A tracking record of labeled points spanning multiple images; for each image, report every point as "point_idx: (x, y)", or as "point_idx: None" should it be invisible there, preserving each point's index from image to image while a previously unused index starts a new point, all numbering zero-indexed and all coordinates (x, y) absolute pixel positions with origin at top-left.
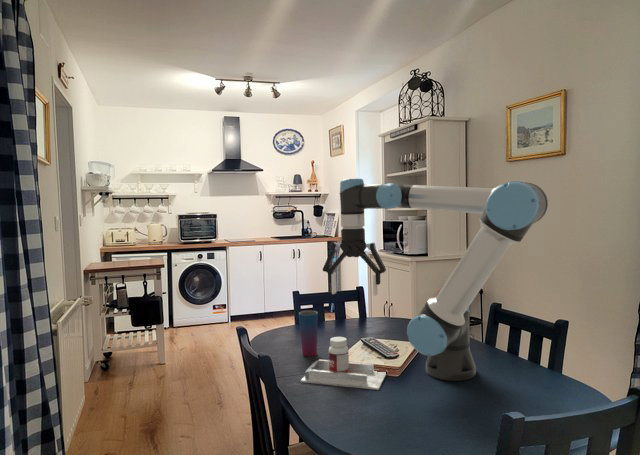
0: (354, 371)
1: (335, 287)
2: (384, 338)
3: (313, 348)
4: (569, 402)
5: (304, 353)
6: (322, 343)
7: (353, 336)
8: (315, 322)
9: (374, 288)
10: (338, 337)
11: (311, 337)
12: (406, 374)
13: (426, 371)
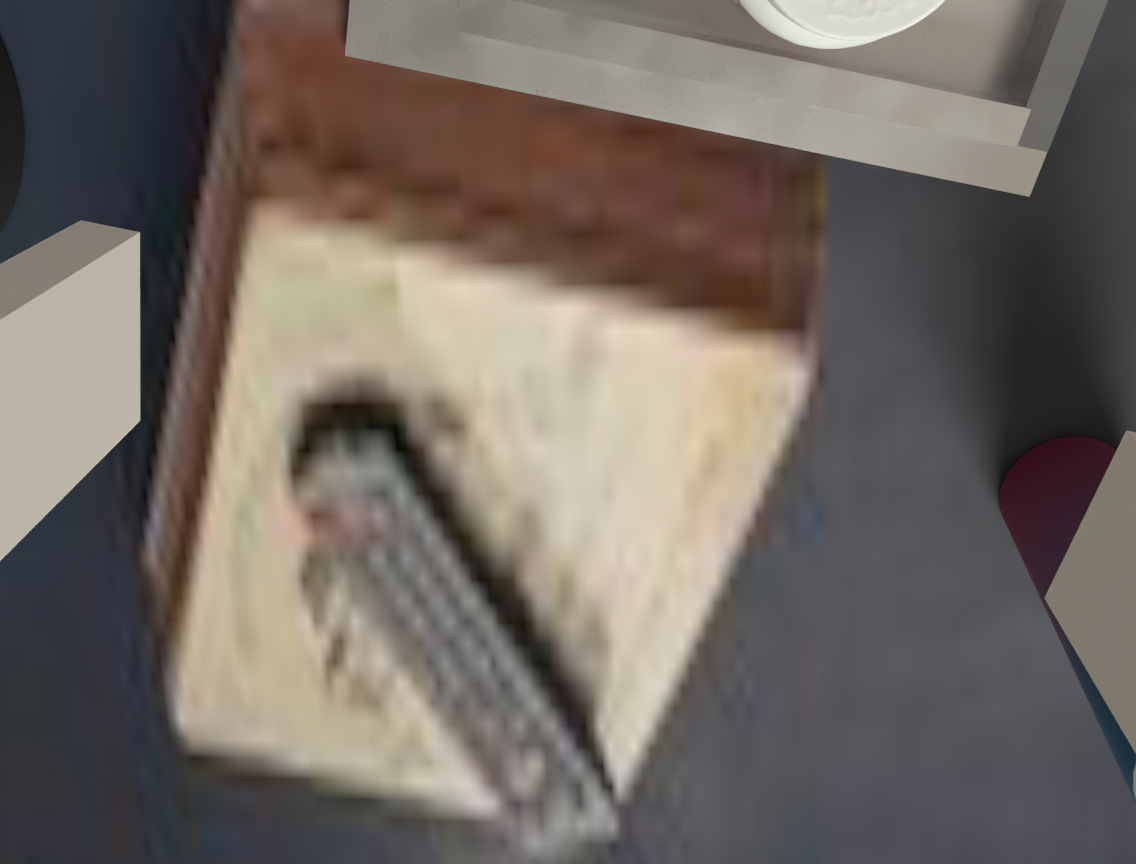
0: (650, 17)
1: (1126, 624)
2: (432, 815)
3: (1052, 479)
4: None
5: None
6: (936, 727)
7: (676, 861)
8: None
9: (12, 279)
10: (864, 1)
11: None
12: (177, 14)
13: (3, 60)
